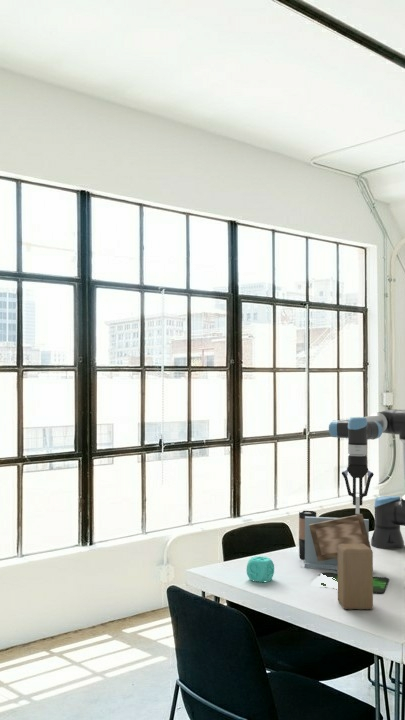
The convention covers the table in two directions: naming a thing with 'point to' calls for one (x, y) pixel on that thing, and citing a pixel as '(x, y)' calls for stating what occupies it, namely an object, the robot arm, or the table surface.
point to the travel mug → (303, 531)
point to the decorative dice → (260, 569)
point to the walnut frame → (337, 535)
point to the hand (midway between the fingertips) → (357, 513)
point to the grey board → (310, 550)
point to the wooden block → (355, 576)
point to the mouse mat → (378, 582)
